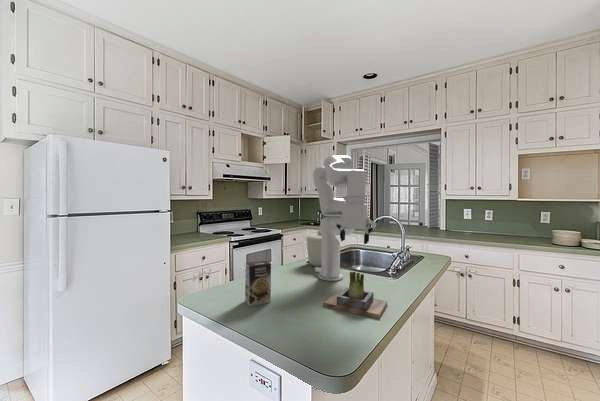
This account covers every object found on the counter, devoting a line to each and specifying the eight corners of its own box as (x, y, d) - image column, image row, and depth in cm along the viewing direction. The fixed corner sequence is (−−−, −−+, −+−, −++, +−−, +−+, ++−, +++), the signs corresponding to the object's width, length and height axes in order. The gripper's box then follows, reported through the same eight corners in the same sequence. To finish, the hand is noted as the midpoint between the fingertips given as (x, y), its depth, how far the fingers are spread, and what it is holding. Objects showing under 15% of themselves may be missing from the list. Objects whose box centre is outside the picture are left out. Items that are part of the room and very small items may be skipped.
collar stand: (323, 306, 114) (323, 295, 113) (335, 294, 126) (335, 284, 126) (379, 318, 103) (379, 306, 103) (387, 304, 116) (387, 293, 115)
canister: (300, 266, 169) (301, 231, 168) (310, 259, 186) (310, 227, 185) (330, 270, 163) (331, 233, 162) (337, 262, 180) (338, 228, 179)
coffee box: (249, 306, 113) (249, 266, 112) (244, 300, 118) (244, 262, 117) (271, 302, 117) (271, 263, 116) (265, 297, 122) (265, 259, 122)
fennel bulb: (365, 303, 114) (365, 273, 113) (355, 305, 111) (356, 274, 110) (355, 298, 119) (355, 269, 118) (345, 300, 116) (346, 271, 115)
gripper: (332, 199, 117) (331, 241, 118) (374, 202, 109) (372, 246, 110) (338, 198, 123) (337, 237, 125) (379, 200, 115) (377, 242, 117)
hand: (354, 241), depth 118 cm, fingers open, 9 cm apart
